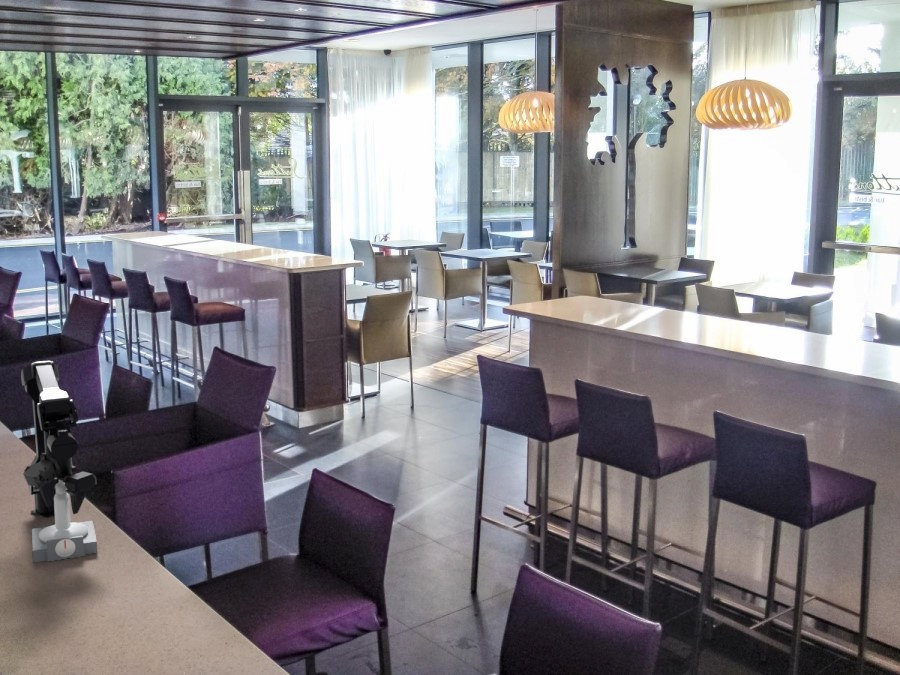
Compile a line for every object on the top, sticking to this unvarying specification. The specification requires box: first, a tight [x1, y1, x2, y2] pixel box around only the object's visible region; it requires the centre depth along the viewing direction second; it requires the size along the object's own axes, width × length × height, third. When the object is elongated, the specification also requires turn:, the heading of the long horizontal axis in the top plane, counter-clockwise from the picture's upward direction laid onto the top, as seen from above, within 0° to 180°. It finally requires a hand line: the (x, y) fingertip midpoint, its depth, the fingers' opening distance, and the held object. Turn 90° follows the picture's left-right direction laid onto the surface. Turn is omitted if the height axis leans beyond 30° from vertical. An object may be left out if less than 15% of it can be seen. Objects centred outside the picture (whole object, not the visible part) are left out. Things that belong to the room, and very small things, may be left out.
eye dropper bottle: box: [54, 480, 71, 530], centre depth 225 cm, size 4×6×12 cm
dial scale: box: [31, 520, 98, 564], centre depth 226 cm, size 15×14×5 cm
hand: (62, 509), depth 225 cm, fingers open, 9 cm apart
